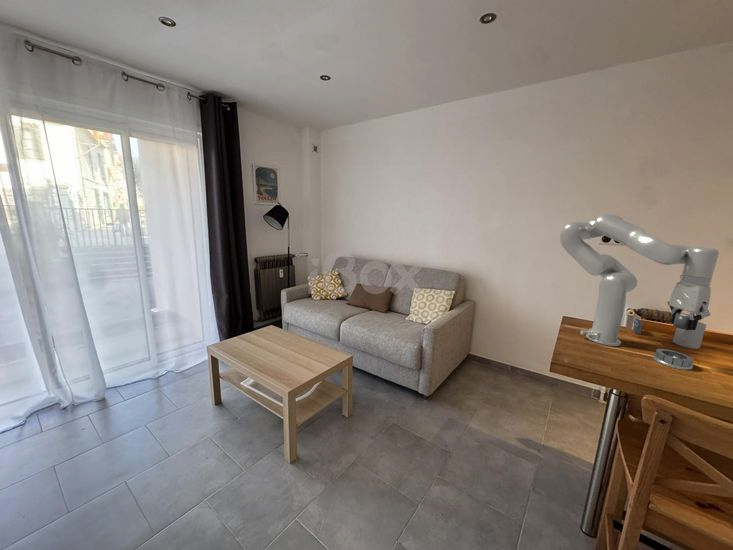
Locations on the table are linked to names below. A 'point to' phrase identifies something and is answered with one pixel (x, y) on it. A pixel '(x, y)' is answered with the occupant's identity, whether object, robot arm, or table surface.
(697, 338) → the mug
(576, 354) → the table surface
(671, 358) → the grey notched ring
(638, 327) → the mini dv tape
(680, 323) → the cap
